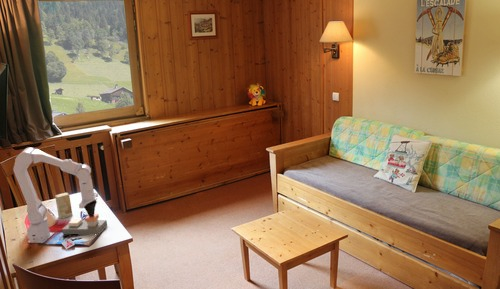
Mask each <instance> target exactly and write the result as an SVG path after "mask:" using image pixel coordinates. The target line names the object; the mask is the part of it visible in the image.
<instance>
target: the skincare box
mask: <svg viewBox="0 0 500 289" xmlns="http://www.w3.org/2000/svg"><path fill="white" fill-rule="evenodd" d="M55 204H56V210H57V216H58V217H59V218H60V219H64V218H67V217H71V216H73V210H72V203H71V197H70V194H69V193H68V192H64V193H59V194H55Z"/></svg>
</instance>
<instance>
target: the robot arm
mask: <svg viewBox="0 0 500 289" xmlns="http://www.w3.org/2000/svg"><path fill="white" fill-rule="evenodd" d="M14 160H15V161H14V166H13V173H14V176H15V179H16V180H17V183H18V185H19V188H20V190H21V192H22V195H23V198H24V201H25V202H26V212H27V221H28V222H30V225H29V226H28V228H27V229H26V230H27V231H26V233H27V236H28V241H27V243H29V244H30V243H31V244H34V243H35V244H36V243H37V244H42V243H45V242H46V241H48V240H49V239H50V238H51V237H52V236H53V235H54V234H55V232H51V230H50V226H49V222H48V217H47V215H46V214H47V212H48V208H47V207H46V205H44V204H43V201H42V200H40V199H39V197H38V194H37V191H36V189H35V187H34V184H33V181H32V179H31V176H30V174H29V171H28V168H29V167H30V165H31V164H32V163H33V164H38V163H41V162H42V163H46V164H49V165H52V166H56V167H59V169H60V170H61V171H62V172H65V173H68V174H71V175H73V176H75V177H77V179H78V184H79V189H80V194H81V201H80V203H79V204H78V207H79V209H84V210H85V211H86V213H87V216H88V215H89V217H93V216H94V214H95V211H96V205H97V203H98V197H99V194H98V192H95V191H94V185H93V184H94V183H93V179H92V175H91V173H92V168H91V166H90V165H88V164H87V163H83V164H82V163H79V162H76V161H73V159H71V158H69V159H67V158H65V159H60V158H58V157H55V156H54V155H51V154H50V153H47V152H44V151H42V150H40V149H38V148H35V147H30V146H29V147H26V148H24V150H22V151H21V152H20V153H19V154H18V155H17V156H16V158H15V159H14Z"/></svg>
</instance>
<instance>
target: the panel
mask: <svg viewBox="0 0 500 289" xmlns="http://www.w3.org/2000/svg"><path fill="white" fill-rule="evenodd" d="M82 221H83V222H82V223H81V224H80V225H79V226H78V227H71V226H69V223H68V224H66V225H65V226H64V227H63V228H62V229H61V232H62V235H63V234H78V235H77V236H98V235H99V234H100V233H102V232H103V231H104V230H105V229H106V228H107V226H108V222H107V219H98V224H97V225H96V226H95V227H88V224H87V222H85V219H82ZM95 234H96V235H95Z"/></svg>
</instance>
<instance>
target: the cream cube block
mask: <svg viewBox="0 0 500 289" xmlns="http://www.w3.org/2000/svg"><path fill="white" fill-rule="evenodd" d="M82 220H83V218H72V219H71V220H70V221H69V222H68V224H69V226H71V227H78V226H79V225H80V224H81V223H82V222H83V221H82Z"/></svg>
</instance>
